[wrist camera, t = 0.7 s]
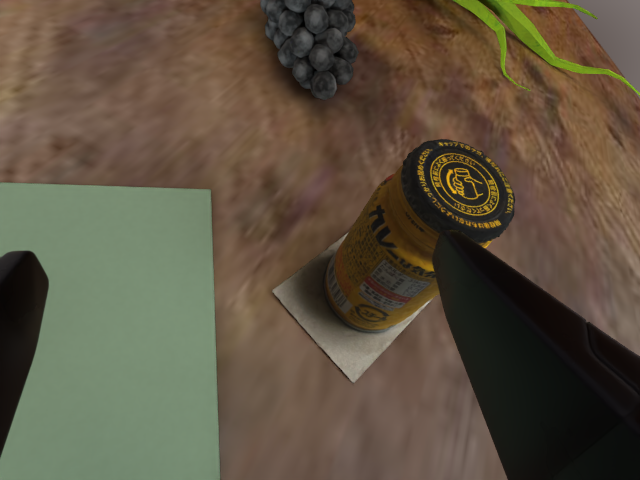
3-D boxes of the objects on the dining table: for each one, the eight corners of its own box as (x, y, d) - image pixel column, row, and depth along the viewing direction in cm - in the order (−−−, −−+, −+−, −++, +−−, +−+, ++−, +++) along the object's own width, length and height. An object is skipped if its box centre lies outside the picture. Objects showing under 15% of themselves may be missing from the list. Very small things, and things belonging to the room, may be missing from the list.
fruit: (385, 23, 28) (338, -98, 34) (261, 45, 27) (238, -81, 34) (375, 115, 35) (339, 2, 42) (279, 133, 35) (258, 16, 42)
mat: (223, 606, 18) (224, 608, 18) (-248, 728, 14) (-256, 733, 13) (210, 191, 28) (210, 189, 28) (-60, 183, 24) (-63, 180, 24)
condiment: (431, 299, 29) (560, 200, 19) (352, 383, 24) (465, 313, 14) (358, 225, 30) (440, 97, 20) (270, 292, 26) (321, 171, 16)
